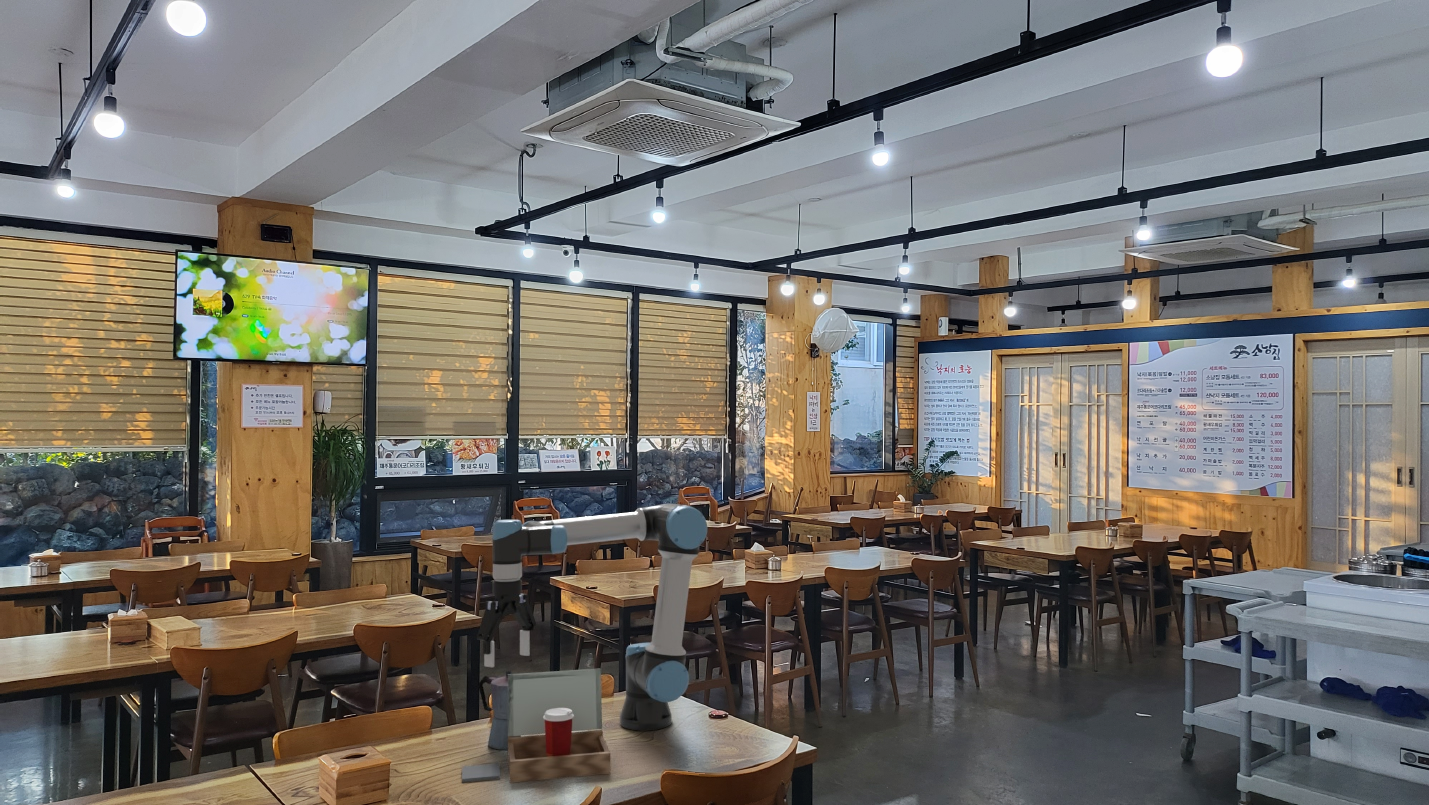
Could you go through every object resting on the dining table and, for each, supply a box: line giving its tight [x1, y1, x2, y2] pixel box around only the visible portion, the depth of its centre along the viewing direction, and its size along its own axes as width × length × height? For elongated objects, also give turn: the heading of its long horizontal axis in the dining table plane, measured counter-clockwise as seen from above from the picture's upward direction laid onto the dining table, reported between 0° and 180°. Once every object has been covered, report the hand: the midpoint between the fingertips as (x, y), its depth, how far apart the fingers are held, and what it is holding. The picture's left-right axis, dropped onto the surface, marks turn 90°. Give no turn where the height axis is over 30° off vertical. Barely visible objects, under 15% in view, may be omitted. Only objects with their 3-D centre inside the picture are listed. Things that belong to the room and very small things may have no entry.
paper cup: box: [543, 708, 574, 757], centre depth 234 cm, size 8×8×14 cm
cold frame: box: [507, 729, 611, 784], centre depth 234 cm, size 24×15×6 cm, turn 105°
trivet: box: [461, 762, 501, 783], centre depth 229 cm, size 9×9×1 cm
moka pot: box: [478, 670, 522, 751], centre depth 251 cm, size 10×15×20 cm, turn 78°
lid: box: [508, 668, 603, 736], centre depth 244 cm, size 24×15×1 cm
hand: (507, 660), depth 241 cm, fingers open, 13 cm apart
